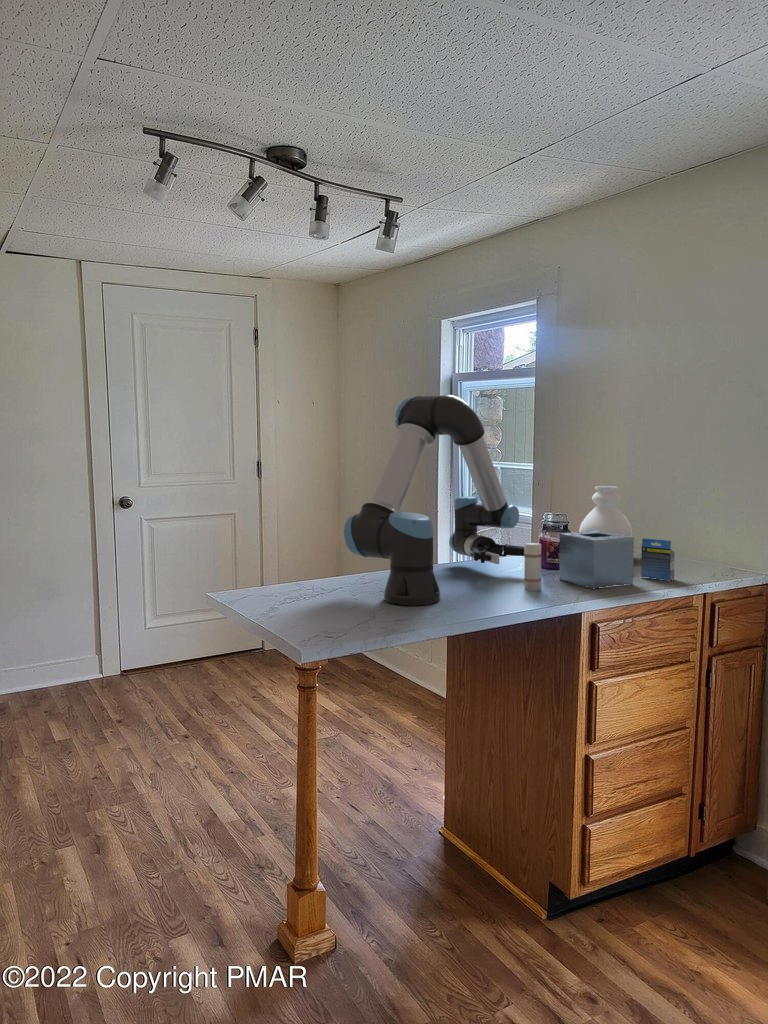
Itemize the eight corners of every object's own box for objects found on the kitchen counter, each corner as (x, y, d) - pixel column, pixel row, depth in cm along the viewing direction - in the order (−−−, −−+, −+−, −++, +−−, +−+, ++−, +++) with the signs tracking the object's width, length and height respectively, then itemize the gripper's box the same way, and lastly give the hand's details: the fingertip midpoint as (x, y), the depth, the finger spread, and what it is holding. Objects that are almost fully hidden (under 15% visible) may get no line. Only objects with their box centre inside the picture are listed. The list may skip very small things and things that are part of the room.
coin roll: (530, 591, 207) (530, 546, 205) (521, 588, 211) (521, 543, 209) (544, 590, 208) (544, 544, 207) (534, 587, 213) (535, 542, 211)
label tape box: (674, 579, 220) (675, 538, 218) (670, 581, 216) (671, 540, 215) (645, 576, 225) (646, 536, 224) (640, 578, 222) (641, 538, 221)
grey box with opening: (593, 589, 208) (594, 540, 207) (559, 579, 223) (559, 533, 221) (632, 584, 213) (633, 536, 212) (596, 575, 228) (597, 530, 227)
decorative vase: (625, 553, 267) (626, 484, 264) (637, 561, 249) (638, 488, 247) (575, 553, 269) (575, 485, 266) (583, 562, 251) (584, 488, 248)
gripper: (514, 556, 241) (553, 566, 222) (446, 562, 231) (481, 574, 212) (514, 533, 240) (553, 541, 221) (446, 539, 230) (481, 548, 211)
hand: (518, 557), depth 216 cm, fingers open, 13 cm apart
